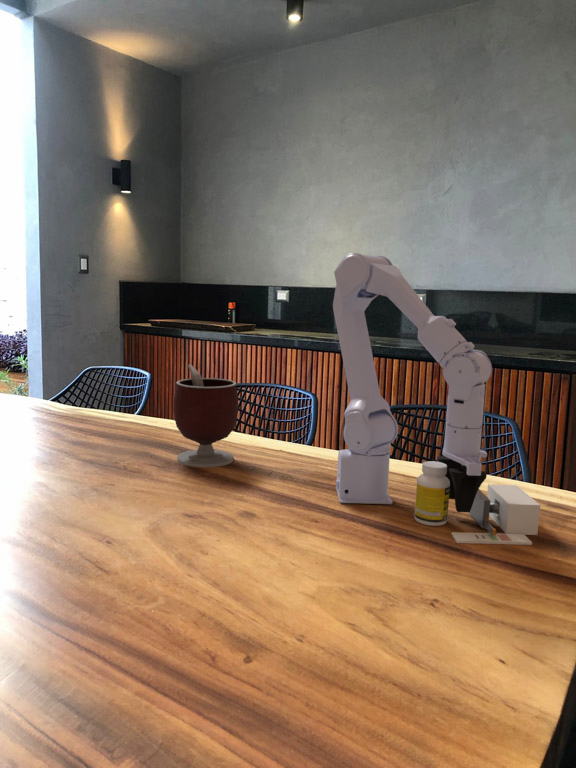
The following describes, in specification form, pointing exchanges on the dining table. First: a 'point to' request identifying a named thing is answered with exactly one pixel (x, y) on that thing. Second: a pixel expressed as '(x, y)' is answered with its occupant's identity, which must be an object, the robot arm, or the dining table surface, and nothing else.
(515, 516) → the gauge
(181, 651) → the dining table surface
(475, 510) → the plunger
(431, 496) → the supplement bottle
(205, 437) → the mate gourd
